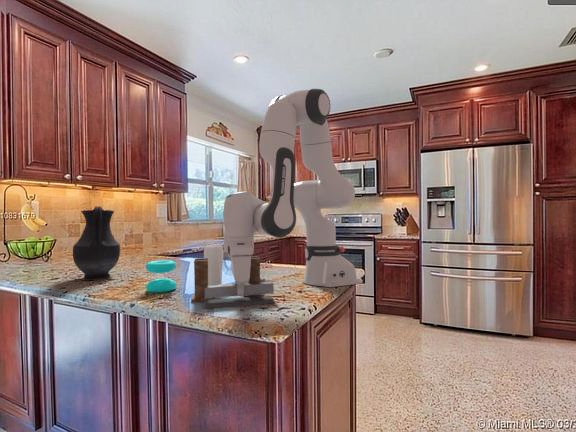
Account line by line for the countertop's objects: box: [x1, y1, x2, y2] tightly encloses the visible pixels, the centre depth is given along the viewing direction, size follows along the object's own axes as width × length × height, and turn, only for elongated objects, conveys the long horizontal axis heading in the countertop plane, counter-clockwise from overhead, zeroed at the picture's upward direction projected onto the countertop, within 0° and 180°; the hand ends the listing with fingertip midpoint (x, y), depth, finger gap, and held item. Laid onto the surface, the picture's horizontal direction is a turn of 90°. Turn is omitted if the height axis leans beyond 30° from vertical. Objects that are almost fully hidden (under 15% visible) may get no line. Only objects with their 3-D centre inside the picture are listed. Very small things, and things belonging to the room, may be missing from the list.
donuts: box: [145, 259, 177, 294], centre depth 117 cm, size 10×10×10 cm
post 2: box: [243, 255, 265, 298], centre depth 107 cm, size 6×6×12 cm
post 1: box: [190, 257, 213, 303], centre depth 104 cm, size 6×6×12 cm
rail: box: [205, 281, 274, 299], centre depth 99 cm, size 20×3×3 cm, turn 103°
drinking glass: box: [203, 244, 224, 285], centre depth 120 cm, size 7×7×15 cm
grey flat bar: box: [204, 295, 276, 310], centre depth 99 cm, size 20×7×1 cm, turn 103°
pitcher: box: [72, 205, 121, 281], centre depth 139 cm, size 17×21×30 cm
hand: (239, 292), depth 99 cm, fingers closed on rail, 3 cm apart
